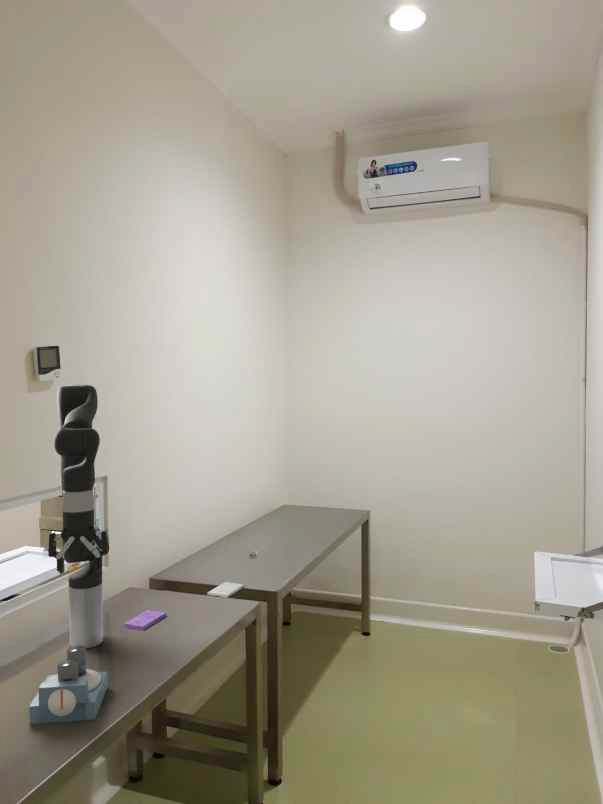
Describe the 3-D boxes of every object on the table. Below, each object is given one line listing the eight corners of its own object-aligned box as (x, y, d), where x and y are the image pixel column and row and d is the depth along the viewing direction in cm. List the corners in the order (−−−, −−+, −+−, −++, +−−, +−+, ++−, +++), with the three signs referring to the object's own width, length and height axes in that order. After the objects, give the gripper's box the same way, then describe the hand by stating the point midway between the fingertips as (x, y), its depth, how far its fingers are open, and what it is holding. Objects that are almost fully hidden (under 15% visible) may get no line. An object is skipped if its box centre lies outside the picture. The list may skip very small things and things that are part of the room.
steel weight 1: (69, 670, 154) (69, 646, 154) (88, 669, 155) (87, 645, 154) (65, 678, 150) (64, 653, 150) (84, 677, 150) (83, 652, 150)
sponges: (124, 628, 193) (124, 622, 193) (148, 614, 205) (148, 608, 205) (143, 632, 191) (143, 626, 190) (166, 617, 202) (166, 611, 202)
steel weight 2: (60, 685, 146) (60, 660, 146) (80, 684, 147) (79, 659, 146) (55, 694, 142) (55, 668, 142) (76, 693, 142) (75, 667, 142)
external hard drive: (244, 588, 231) (227, 599, 219) (224, 585, 234) (207, 596, 222) (244, 584, 231) (227, 594, 219) (224, 581, 234) (207, 591, 222)
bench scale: (49, 689, 154) (49, 657, 154) (108, 685, 156) (107, 653, 155) (29, 725, 138) (28, 689, 137) (94, 720, 139) (94, 685, 139)
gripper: (110, 504, 161) (111, 566, 161) (52, 506, 159) (54, 569, 159) (105, 510, 153) (106, 575, 154) (44, 511, 151) (45, 578, 152)
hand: (79, 572), depth 156 cm, fingers open, 8 cm apart
